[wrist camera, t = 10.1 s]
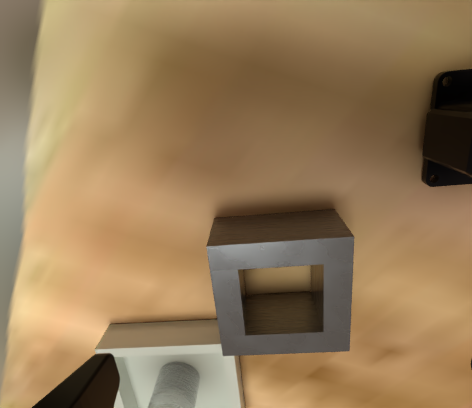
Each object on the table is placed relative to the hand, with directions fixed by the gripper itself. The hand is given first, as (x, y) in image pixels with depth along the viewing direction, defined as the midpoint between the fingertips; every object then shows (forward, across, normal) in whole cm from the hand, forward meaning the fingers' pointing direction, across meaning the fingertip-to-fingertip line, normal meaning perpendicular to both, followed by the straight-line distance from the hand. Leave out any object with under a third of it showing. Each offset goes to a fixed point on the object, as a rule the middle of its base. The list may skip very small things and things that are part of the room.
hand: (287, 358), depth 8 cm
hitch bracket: (+13, 0, +6) cm, 14 cm away
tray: (+13, +8, +15) cm, 21 cm away
